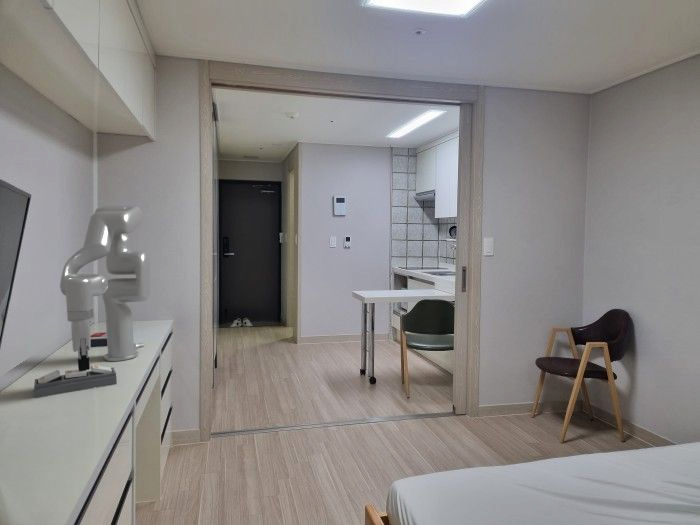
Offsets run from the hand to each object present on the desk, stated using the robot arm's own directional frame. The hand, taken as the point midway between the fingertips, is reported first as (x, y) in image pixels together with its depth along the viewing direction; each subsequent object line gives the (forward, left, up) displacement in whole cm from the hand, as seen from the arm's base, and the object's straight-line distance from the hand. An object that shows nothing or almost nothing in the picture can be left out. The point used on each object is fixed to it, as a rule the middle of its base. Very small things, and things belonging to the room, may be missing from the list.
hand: (84, 369), depth 163 cm
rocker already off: (-4, +3, -1) cm, 5 cm away
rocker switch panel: (+2, -1, -5) cm, 6 cm away
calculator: (-40, -48, -6) cm, 63 cm away
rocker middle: (+2, -1, -1) cm, 3 cm away
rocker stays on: (+9, -5, -1) cm, 10 cm away
